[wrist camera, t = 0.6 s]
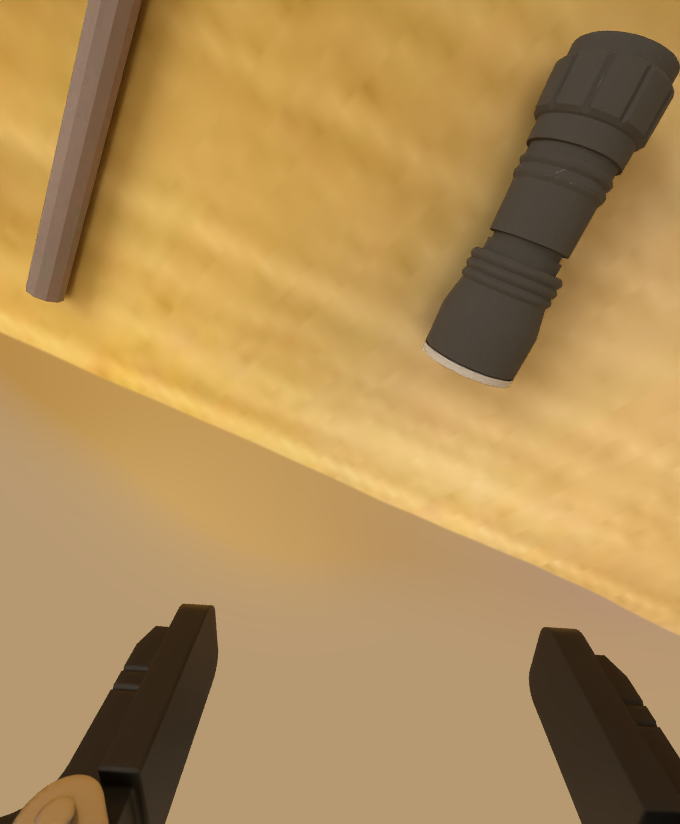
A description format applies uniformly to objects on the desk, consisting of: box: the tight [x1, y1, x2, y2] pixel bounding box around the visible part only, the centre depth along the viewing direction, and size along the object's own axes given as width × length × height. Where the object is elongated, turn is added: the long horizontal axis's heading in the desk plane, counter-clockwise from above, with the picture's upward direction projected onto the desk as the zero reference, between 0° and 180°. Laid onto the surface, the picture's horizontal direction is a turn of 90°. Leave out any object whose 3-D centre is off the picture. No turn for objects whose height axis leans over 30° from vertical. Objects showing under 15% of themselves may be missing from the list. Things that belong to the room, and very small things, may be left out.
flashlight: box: [423, 31, 680, 388], centre depth 22 cm, size 15×5×5 cm, turn 160°
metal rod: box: [26, 0, 142, 303], centre depth 21 cm, size 2×27×2 cm, turn 151°
